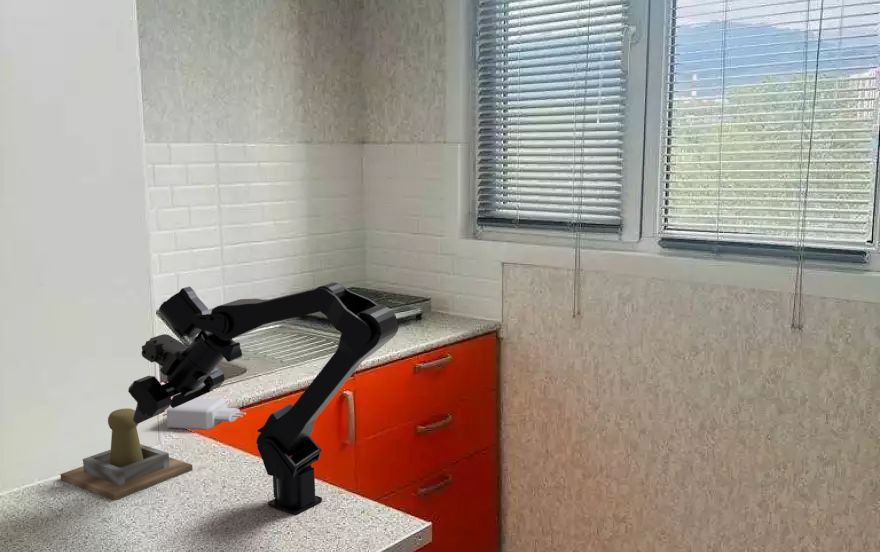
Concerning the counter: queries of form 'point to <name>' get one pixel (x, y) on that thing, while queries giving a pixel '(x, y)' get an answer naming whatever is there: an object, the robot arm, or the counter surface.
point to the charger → (201, 414)
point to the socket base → (125, 473)
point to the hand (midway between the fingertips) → (153, 413)
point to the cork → (124, 438)
